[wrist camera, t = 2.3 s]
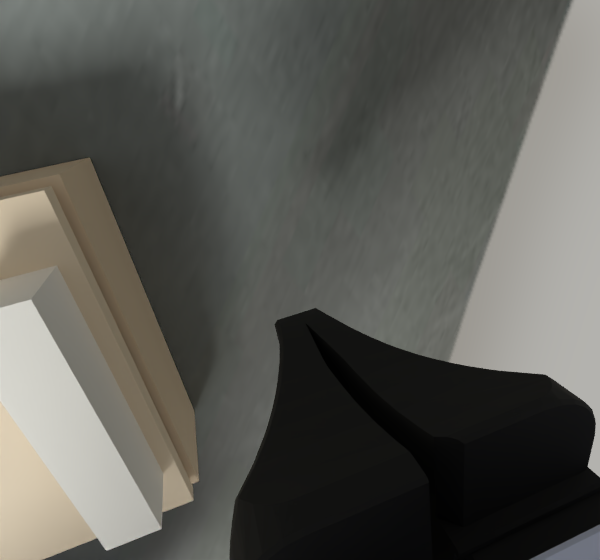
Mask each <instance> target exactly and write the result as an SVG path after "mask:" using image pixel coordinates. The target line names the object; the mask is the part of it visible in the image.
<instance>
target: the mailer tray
mask: <svg viewBox="0 0 600 560" xmlns="http://www.w3.org/2000/svg"><path fill="white" fill-rule="evenodd" d="M49 186H52V188H53V190H54V193H55V195H56V197H57V199H58V201H59V203H60V205H61V207H62V210H63V212H64V214H65V216H66V218H67V220H68V222H69V224H70V227H71V229H72V231H73V233H74V235H75V237H76V239H77V241H78V244H79V246H80V248H81V250H82V252H83V254H84V256H85V258H86V261H87V263H88V265H89V267H90V269H91V271H92V273H93V275H94V278H95V280H96V282H97V284H98V286H99V288H100V290H101V292H102V295H103V297H104V299H105V301H106V303H107V305H108V307H109V309H110V312H111V314H112V316H113V318H114V320H115V322H116V324H117V326H118V329H119V331H120V333H121V335H122V337H123V339H124V341H125V343H126V346H127V348H128V350H129V352H130V354H131V356H132V358H133V360H134V363H135V365H136V367H137V369H138V371H139V373H140V375H141V377H142V380H143V382H144V384H145V386H146V388H147V390H148V392H149V394H150V397H151V399H152V401H153V403H154V405H155V407H156V409H157V411H158V414H159V416H160V418H161V420H162V422H163V424H164V426H165V428H166V431H167V433H168V435H169V437H170V439H171V441H172V443H173V445H174V448H175V450H176V452H177V454H178V456H179V458H180V460H181V462H182V465H183V467H184V469H185V471H186V473H187V475H188V477H189V479H190V482H191V484H193V483H196V482H199V472H198V457H197V443H196V428H195V413H194V409H193V407H192V404H191V402H190V399H189V397H188V395H187V392H186V390H185V387H184V385H183V382H182V380H181V378H180V375H179V373H178V370H177V368H176V365H175V363H174V361H173V358H172V356H171V353H170V351H169V349H168V346H167V344H166V341H165V339H164V336H163V334H162V332H161V329H160V327H159V324H158V322H157V319H156V317H155V315H154V312H153V310H152V307H151V305H150V302H149V300H148V298H147V295H146V293H145V290H144V288H143V285H142V283H141V281H140V278H139V276H138V273H137V271H136V268H135V266H134V264H133V261H132V259H131V256H130V254H129V251H128V249H127V247H126V244H125V242H124V239H123V237H122V234H121V232H120V230H119V227H118V225H117V222H116V220H115V217H114V215H113V213H112V210H111V208H110V205H109V203H108V200H107V198H106V196H105V193H104V191H103V188H102V186H101V183H100V181H99V179H98V176H97V174H96V171H95V169H94V166H93V164H92V162H91V159H90V157H89V158H84V159H80V160H75V161H70V162H66V163H61V164H56V165H52V166H47V167H42V168H38V169H33V170H29V171H24V172H19V173H15V174H10V175H5V176H1V177H0V197H4V196H9V195H13V194H18V193H22V192H26V191H31V190H35V189H40V188H44V187H49Z"/></svg>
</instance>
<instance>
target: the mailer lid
mask: <svg viewBox="0 0 600 560" xmlns="http://www.w3.org/2000/svg"><path fill="white" fill-rule="evenodd" d="M191 501H194V499H193V486H192V484H191V482H190V479H189V477H188V475H187V473H186V471H185V469H184V467H183V465H182V462H181V460H180V458H179V456H178V454H177V452H176V450H175V448H174V445H173V443H172V441H171V439H170V437H169V435H168V433H167V431H166V428H165V426H164V424H163V422H162V420H161V418H160V416H159V414H158V411H157V409H156V407H155V405H154V403H153V401H152V399H151V397H150V394H149V392H148V390H147V388H146V386H145V384H144V382H143V380H142V377H141V375H140V373H139V371H138V369H137V367H136V365H135V363H134V360H133V358H132V356H131V354H130V352H129V350H128V348H127V346H126V343H125V341H124V339H123V337H122V335H121V333H120V331H119V329H118V326H117V324H116V322H115V320H114V318H113V316H112V314H111V312H110V309H109V307H108V305H107V303H106V301H105V299H104V297H103V295H102V292H101V290H100V288H99V286H98V284H97V282H96V280H95V278H94V275H93V273H92V271H91V269H90V267H89V265H88V263H87V261H86V258H85V256H84V254H83V252H82V250H81V248H80V246H79V244H78V241H77V239H76V237H75V235H74V233H73V231H72V229H71V227H70V224H69V222H68V220H67V218H66V216H65V214H64V212H63V210H62V207H61V205H60V203H59V201H58V199H57V197H56V195H55V193H54V190H53V188H52V186H49V187H44V188H40V189H35V190H31V191H26V192H22V193H18V194H13V195H9V196H4V197H0V560H43V559H46V558H48V557H51V556H53V555H56V554H58V553H61V552H63V551H66V550H69V549H71V548H74V547H76V546H79V545H81V544H84V543H86V542H89V541H92V540H94V539H97V538H98V540H99V541H100V543H101V544H102V546H103V547H104V548H105V550H106V551H108V550H110V549H113V548H115V547H118V546H120V545H123V544H125V543H128V542H130V541H133V540H135V539H138V538H140V537H143V536H145V535H148V534H150V533H153V532H155V531H158V530H160V529H162V513H163V512H166V511H168V510H171V509H173V508H176V507H178V506H181V505H184V504H186V503H189V502H191Z"/></svg>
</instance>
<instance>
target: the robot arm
mask: <svg viewBox="0 0 600 560" xmlns="http://www.w3.org/2000/svg"><path fill="white" fill-rule="evenodd" d="M275 328H276V332H277V336H278V340H279V344H280V364H279V374H278V383H277V389H276V395H275V400H274V404H273V408H272V412H271V416H270V419H269V423H268V426H267V429H266V432H265V435H264V438H263V440H262V443H261V446H260V448H259V451H258V453H257V456H256V458H255V461H254V463H253V465H252V468H251V470H250V472H249V474H248V476H247V478H246V480H245V482H244V484H243V486H242V488H241V490H240V492H239V494H238V496H237V497H236V500H235V506H234V513H233V520H232V529H231V539H230V560H600V477H599V476H597V475H596V474H595V473H594V472H593V471H591V470H590V469H589V468H588V467H587V466H588V462H589V457H590V453H591V449H592V445H593V440H594V436H595V425H596V423H595V418H594V414H593V411H592V409H591V408H590V407H589V406H588V405H587V404H586V403H585V402H584V401H583V400H581V399H580V398H578V397H577V396H575V395H574V394H573V393H571V392H570V391H568V390H567V389H566V388H564V387H562V386H561V385H560V384H558V383H557V382H556V381H554V380H553V379H551V378H550V377H548V376H546V375H543V374H530V373H518V372H506V371H497V370H489V369H483V368H476V367H469V366H464V365H459V364H454V363H449V362H445V361H441V360H436V359H432V358H428V357H425V356H421V355H417V354H414V353H411V352H408V351H405V350H402V349H399V348H396V347H393V346H391V345H388V344H385V343H383V342H381V341H378V340H376V339H374V338H371V337H369V336H367V335H365V334H363V333H361V332H358V331H356V330H354V329H352V328H351V327H349V326H347V325H345V324H343V323H341V322H339V321H338V320H336V319H334V318H332V317H330V316H329V315H327V314H325V313H323V312H322V311H320V310H318V309H316V308H314V309H311V310H308V311H305V312H302V313H298V314H295V315H292V316H289V317H286V318H283V319H280V320H277V322H276V323H275Z"/></svg>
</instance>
